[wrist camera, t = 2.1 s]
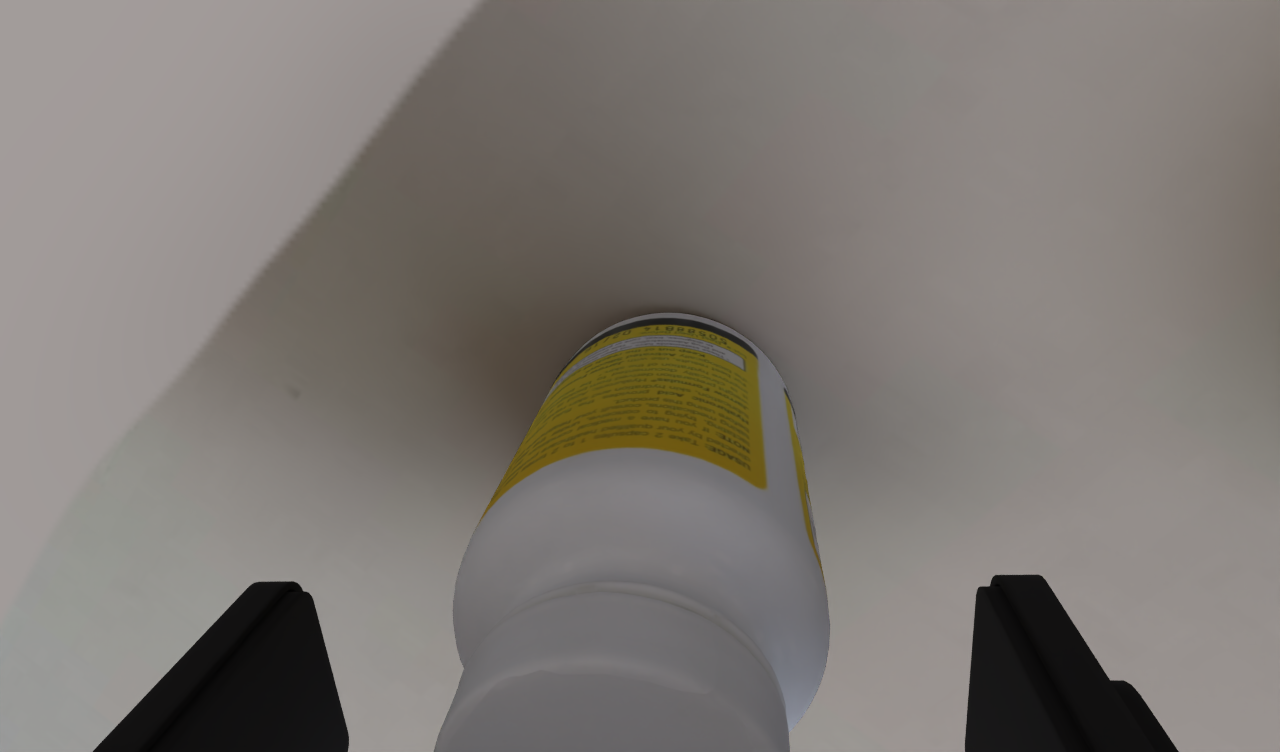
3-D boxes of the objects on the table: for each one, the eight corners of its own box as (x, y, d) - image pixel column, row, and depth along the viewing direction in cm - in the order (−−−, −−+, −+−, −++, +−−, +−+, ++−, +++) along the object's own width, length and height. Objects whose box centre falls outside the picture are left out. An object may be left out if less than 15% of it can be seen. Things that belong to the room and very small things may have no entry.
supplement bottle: (502, 396, 18) (264, 740, 9) (698, 256, 16) (660, 498, 7) (647, 567, 19) (572, 1025, 10) (842, 453, 17) (969, 875, 8)
